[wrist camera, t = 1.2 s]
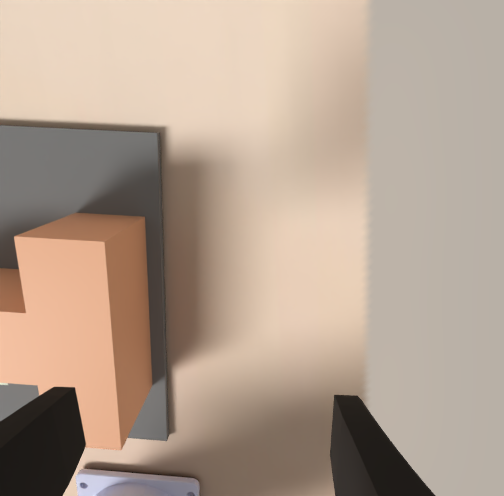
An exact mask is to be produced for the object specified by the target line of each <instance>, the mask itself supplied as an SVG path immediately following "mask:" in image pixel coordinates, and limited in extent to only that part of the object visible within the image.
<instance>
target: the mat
mask: <svg viewBox="0 0 504 496" xmlns="http://www.w3.org/2000/svg"><path fill="white" fill-rule="evenodd" d="M74 213H89V214H107V215H124V216H142V217H145V230H146V252H147V275H148V297H149V320H150V342H151V365H152V387H151V389H150V391H149V394H148V396H147V398H146V400H145V402H144V404H143V406H142V408H141V410H140V412H139V414H138V416H137V418H136V421H135V423H134V425H133V427H132V429H131V431H130V433H129V435H128V437H127V438H136V439H149V440H161V441H167V439H168V436H169V428H168V394H167V361H166V327H165V293H164V260H163V226H162V192H161V158H160V133H149V132H128V131H107V130H86V129H66V128H45V127H24V126H4V125H0V268H7V269H19V265H18V259H17V253H16V247H15V240H14V236H16V235H19V234H22V233H24V232H27V231H30V230H32V229H35V228H37V227H40V226H43V225H45V224H48V223H50V222H53V221H56V220H58V219H61V218H64V217H66V216H69V215H71V214H74ZM38 396H39V391H38V385H25V384H11V383H0V421H2V420H3V419H5V418H6V417H8V416H9V415H11V414H12V413H14V412H15V411H17V410H18V409H20V408H21V407H23V406H24V405H26V404H27V403H29V402H30V401H32V400H33V399H35V398H36V397H38Z"/></svg>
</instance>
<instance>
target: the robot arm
mask: <svg viewBox="0 0 504 496" xmlns="http://www.w3.org/2000/svg"><path fill="white" fill-rule="evenodd" d="M85 446H86V441H85V436H84V431H83V426H82V420H81V415H80V410H79V405H78V400H77V395H76V390H75V387H53V388H51V389H49V390H48V391H46V392H44V393H43V394H41V395H40V396H38V397H36V398H35V399H33V400H32V401H30V402H29V403H27V404H26V405H24V406H23V407H21V408H20V409H18V410H17V411H15V412H14V413H12V414H11V415H9V416H8V417H6V418H5V419H3V420H2V421H0V496H62V495H63V494H64V492H65V490H66V488H67V487H68V485H69V483H70V481H71V478H72V476H73V474H74V472H75V470H76V468H77V465H78V463H79V461H80V458H81V456H82V454H83V451H84V449H85ZM330 457H331V465H332V473H333V481H334V489H335V496H435V495H434V494H433V493H432V492H431V490H430V489H429V488H428V487H427V486H426V485H425V483H424V482H423V481H422V480H421V478H420V477H419V476H418V475H417V474H416V472H415V471H414V470H413V469H412V468H411V466H410V465H409V464H408V462H407V461H406V460H405V459H404V457H403V456H402V455H401V454H400V452H399V451H398V450H397V449H396V447H395V446H394V445H393V443H392V442H391V441H390V440H389V438H388V437H387V435H386V434H385V433H384V431H383V430H382V429H381V427H380V426H379V425H378V423H377V422H376V421H375V419H374V418H373V416H372V415H371V413H370V412H369V410H368V409H367V407H366V406H365V405H364V403H363V402H362V400H361V399H360V398H359V397H358V396H350V395H334V407H333V421H332V435H331V450H330ZM76 484H77V492H78V496H200V484H199V482H198V480H196V479H194V478H187V477H175V476H163V475H152V474H140V473H128V472H117V471H105V470H93V469H81V470H80V471H79V472H78V474H77V475H76Z"/></svg>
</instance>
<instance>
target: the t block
mask: <svg viewBox="0 0 504 496" xmlns="http://www.w3.org/2000/svg"><path fill="white" fill-rule="evenodd" d="M14 240H15V247H16V253H17V259H18V265H19V269H7V268H0V383H11V384H25V385H38V391H39V396H40V395H41V394H43V393H44V392H46V391H48V390H49V389H51V388H53V387H75V390H76V395H77V400H78V405H79V410H80V415H81V420H82V426H83V431H84V436H85V441H86V446H85V447H87V448H99V449H112V450H122V448H123V446H124V443H125V441H126V439H127V437H128V435H129V433H130V431H131V429H132V427H133V425H134V423H135V421H136V418H137V416H138V414H139V412H140V410H141V408H142V406H143V404H144V402H145V400H146V398H147V396H148V394H149V391H150V389H151V387H152V365H151V342H150V320H149V297H148V275H147V252H146V230H145V217H142V216H124V215H107V214H89V213H74V214H71V215H69V216H66V217H64V218H61V219H58V220H56V221H53V222H50V223H48V224H45V225H43V226H40V227H37V228H35V229H32V230H30V231H27V232H24V233H22V234H19V235H16V236H14Z"/></svg>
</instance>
